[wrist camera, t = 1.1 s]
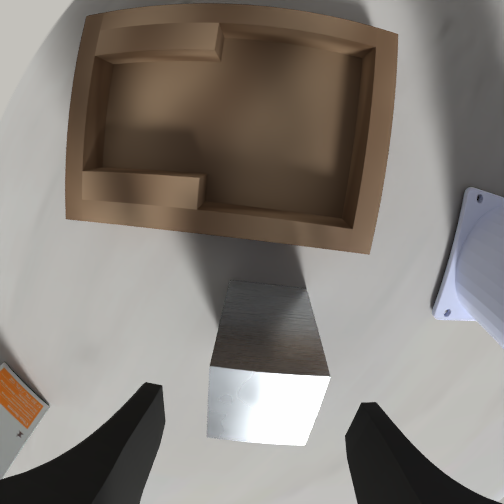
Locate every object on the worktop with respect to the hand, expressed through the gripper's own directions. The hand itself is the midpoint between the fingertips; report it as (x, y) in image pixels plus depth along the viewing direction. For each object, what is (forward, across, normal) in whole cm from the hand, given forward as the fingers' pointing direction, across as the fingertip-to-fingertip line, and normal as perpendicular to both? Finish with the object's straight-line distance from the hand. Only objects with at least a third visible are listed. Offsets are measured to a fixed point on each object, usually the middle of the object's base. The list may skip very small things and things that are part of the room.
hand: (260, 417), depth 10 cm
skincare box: (+8, +21, +12) cm, 25 cm away
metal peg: (+7, 0, 0) cm, 7 cm away
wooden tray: (+7, +3, -10) cm, 13 cm away
